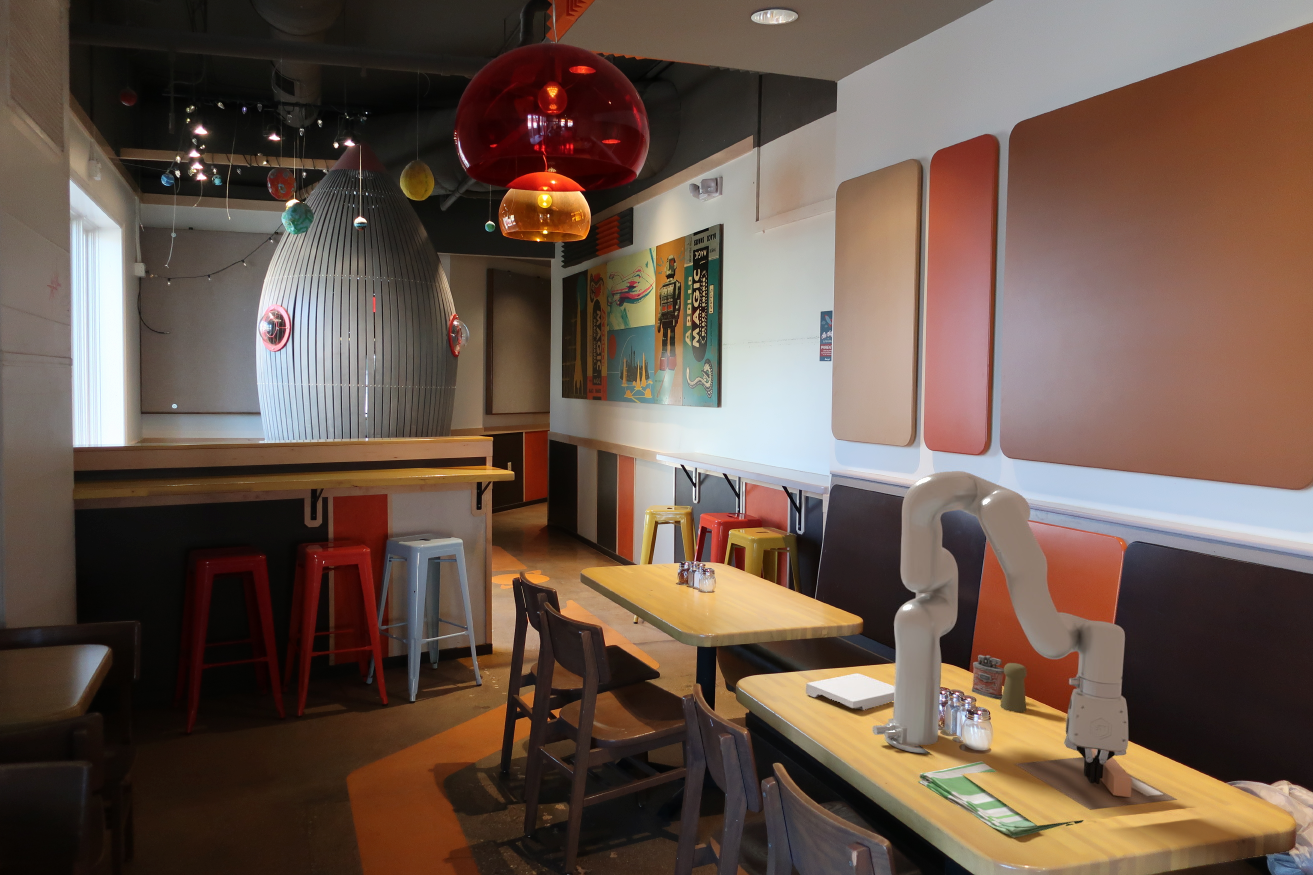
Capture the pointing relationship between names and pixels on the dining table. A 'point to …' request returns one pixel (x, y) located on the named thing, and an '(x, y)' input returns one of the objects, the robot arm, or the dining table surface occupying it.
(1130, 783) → the folding leg
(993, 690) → the lighter
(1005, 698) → the olive pepper mill
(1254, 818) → the dining table surface
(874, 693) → the white flat block
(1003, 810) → the dish towel
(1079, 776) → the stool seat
